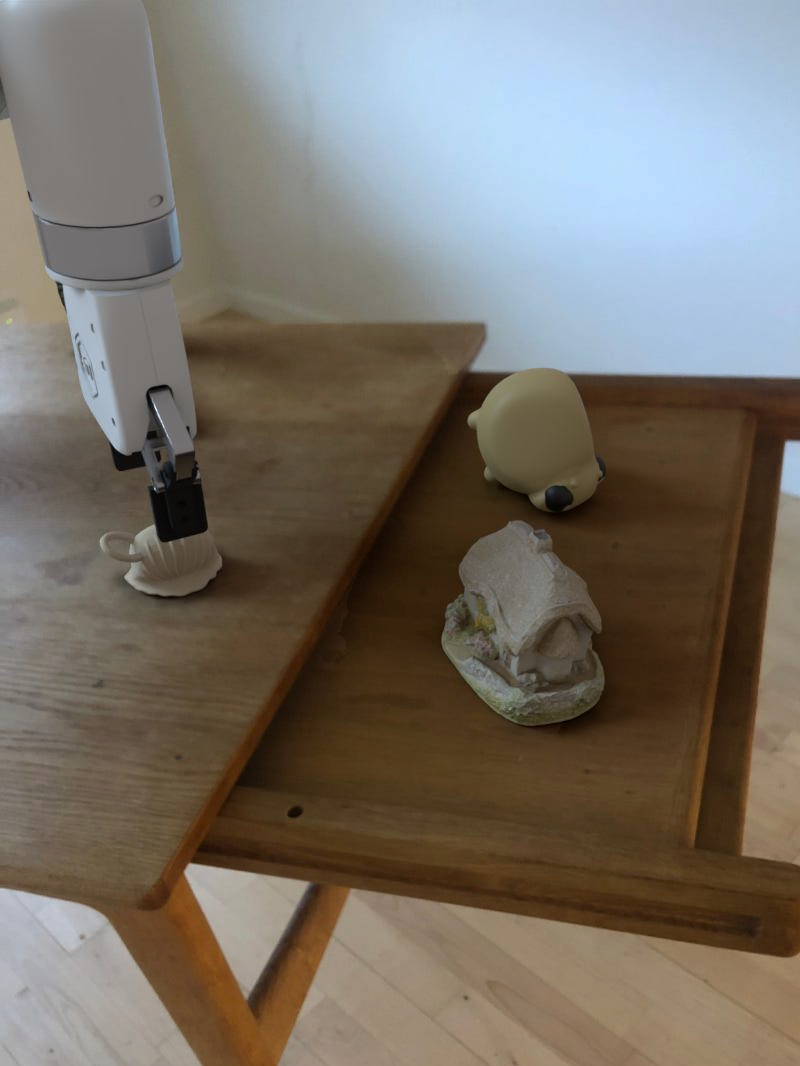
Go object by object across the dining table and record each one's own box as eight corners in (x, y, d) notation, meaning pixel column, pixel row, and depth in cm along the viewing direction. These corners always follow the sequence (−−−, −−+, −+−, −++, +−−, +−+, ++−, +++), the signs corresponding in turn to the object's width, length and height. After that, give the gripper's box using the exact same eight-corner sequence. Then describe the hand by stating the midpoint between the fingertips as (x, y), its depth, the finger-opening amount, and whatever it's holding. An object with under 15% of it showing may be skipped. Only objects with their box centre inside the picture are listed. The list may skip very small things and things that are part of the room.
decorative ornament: (234, 582, 70) (226, 521, 67) (118, 613, 67) (104, 551, 63) (215, 552, 73) (207, 492, 69) (102, 581, 69) (88, 519, 66)
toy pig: (497, 543, 83) (579, 514, 74) (433, 416, 80) (509, 371, 72) (568, 499, 88) (652, 467, 80) (510, 379, 86) (589, 333, 77)
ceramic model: (418, 606, 70) (422, 489, 63) (557, 581, 73) (575, 467, 67) (489, 742, 60) (502, 620, 53) (645, 705, 63) (676, 586, 57)
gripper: (8, 203, 58) (71, 453, 69) (83, 306, 47) (143, 583, 58) (133, 190, 61) (173, 431, 72) (229, 283, 50) (260, 550, 61)
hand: (160, 498), depth 65 cm, fingers open, 9 cm apart
